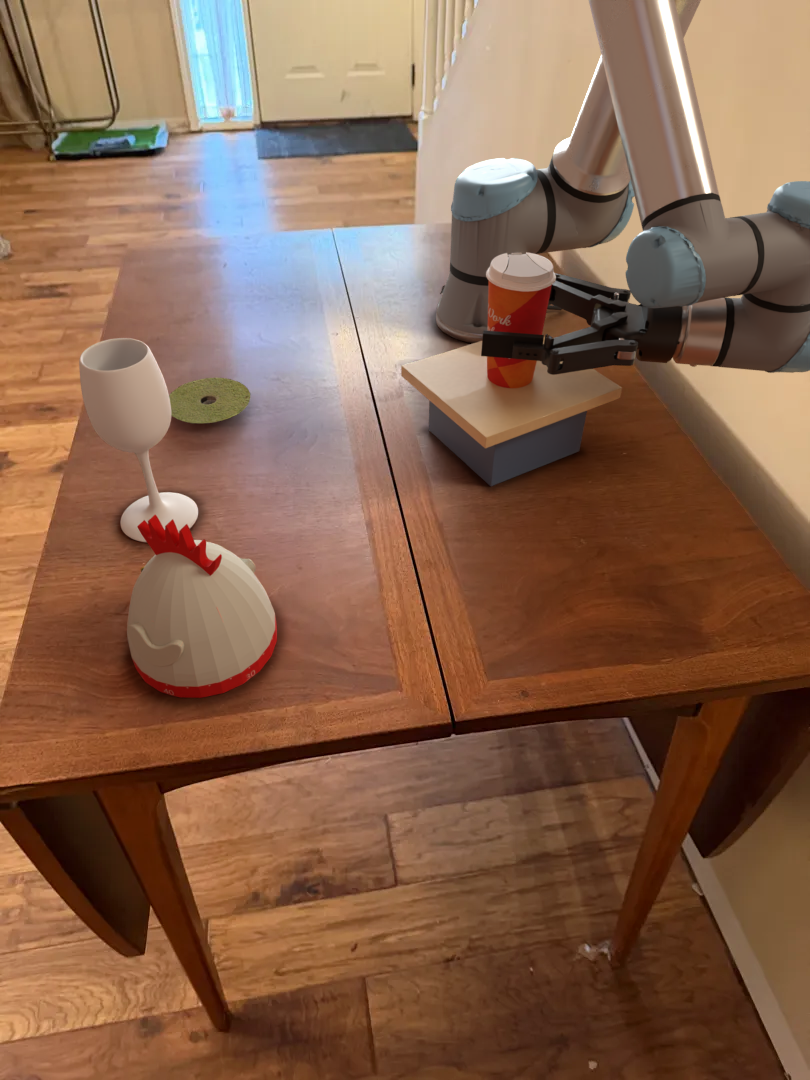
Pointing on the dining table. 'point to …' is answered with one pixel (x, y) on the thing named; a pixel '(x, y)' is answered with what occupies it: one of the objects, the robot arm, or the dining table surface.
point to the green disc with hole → (208, 400)
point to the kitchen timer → (197, 616)
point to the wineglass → (132, 421)
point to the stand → (505, 411)
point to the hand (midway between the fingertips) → (486, 315)
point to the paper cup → (517, 309)
